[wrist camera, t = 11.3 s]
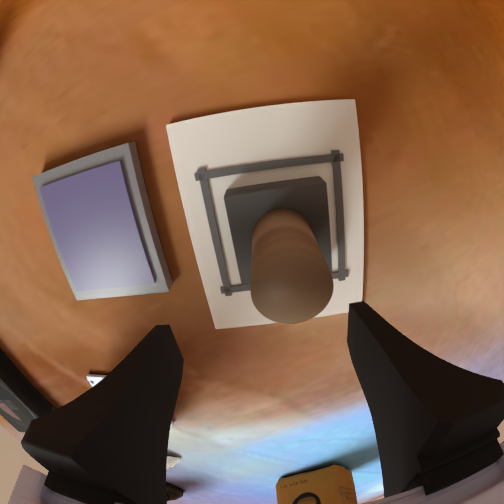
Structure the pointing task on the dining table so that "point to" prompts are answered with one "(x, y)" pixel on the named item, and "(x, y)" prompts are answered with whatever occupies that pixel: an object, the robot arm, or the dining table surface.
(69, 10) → the dining table surface
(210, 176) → the marked board
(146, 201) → the ink pad
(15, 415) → the portable cd player
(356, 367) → the robot arm
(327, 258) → the stamp
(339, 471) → the coffee package
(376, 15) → the dining table surface
